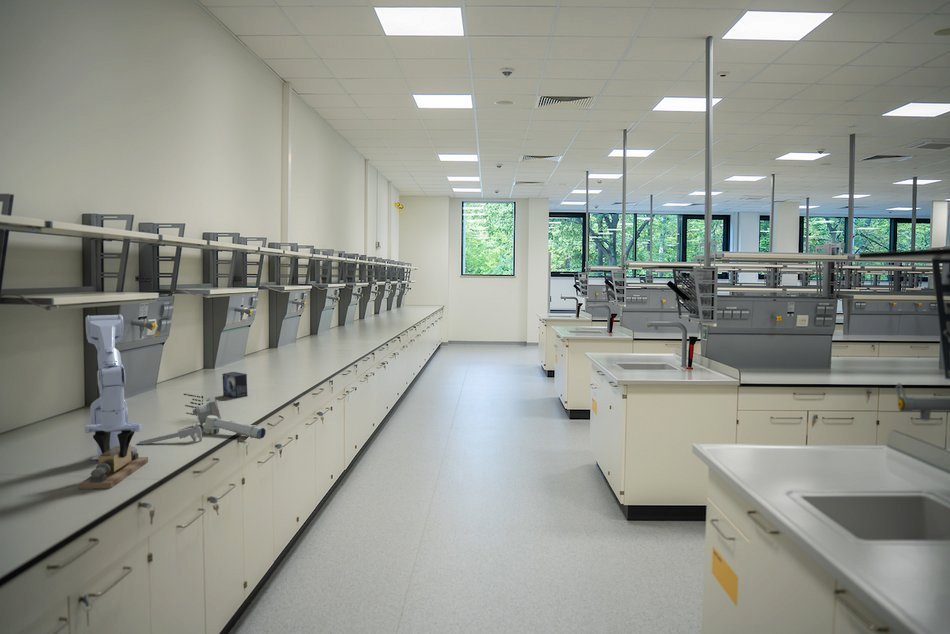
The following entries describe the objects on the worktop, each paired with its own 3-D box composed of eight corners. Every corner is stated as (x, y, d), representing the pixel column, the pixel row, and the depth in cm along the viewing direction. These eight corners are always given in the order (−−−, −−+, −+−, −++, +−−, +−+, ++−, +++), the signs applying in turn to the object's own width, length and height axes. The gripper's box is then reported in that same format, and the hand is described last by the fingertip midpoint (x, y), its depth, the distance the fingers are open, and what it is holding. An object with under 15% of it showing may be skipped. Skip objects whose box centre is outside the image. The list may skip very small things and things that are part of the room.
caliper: (202, 441, 206) (201, 423, 205) (201, 442, 204) (200, 423, 204) (136, 444, 201) (135, 426, 201) (135, 445, 200) (134, 427, 200)
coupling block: (117, 460, 176) (116, 445, 175) (131, 460, 176) (130, 445, 176) (99, 472, 166) (98, 456, 165) (114, 471, 166) (113, 455, 166)
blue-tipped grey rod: (257, 429, 205) (200, 413, 213) (255, 448, 206) (198, 431, 214) (267, 425, 210) (211, 410, 218) (265, 444, 211) (209, 428, 219)
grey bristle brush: (234, 424, 227) (233, 398, 227) (207, 431, 218) (206, 404, 217) (191, 415, 241) (190, 391, 240) (164, 421, 231) (163, 396, 231)
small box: (222, 395, 279) (221, 373, 278) (234, 393, 284) (234, 371, 283) (235, 398, 273) (234, 375, 272) (248, 396, 278) (247, 373, 277)
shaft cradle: (120, 462, 181) (119, 444, 181) (148, 461, 182) (147, 443, 182) (79, 489, 160) (78, 468, 159) (111, 488, 160) (110, 467, 160)
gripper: (77, 413, 165) (80, 462, 166) (133, 412, 166) (135, 460, 167) (91, 407, 172) (94, 454, 173) (144, 406, 173) (146, 452, 174)
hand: (115, 456), depth 171 cm, fingers closed on coupling block, 4 cm apart
